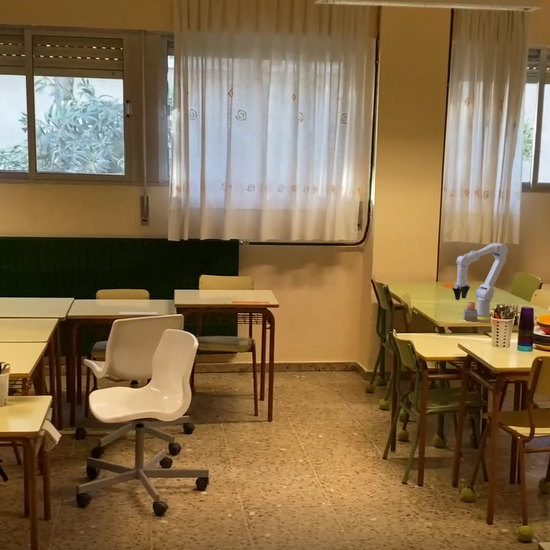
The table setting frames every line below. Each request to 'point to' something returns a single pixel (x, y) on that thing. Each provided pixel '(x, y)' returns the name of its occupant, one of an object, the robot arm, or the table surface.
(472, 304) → the pink cylinder
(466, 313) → the tower top
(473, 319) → the tower base
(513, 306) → the ammunition clip
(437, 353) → the table surface
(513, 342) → the table surface
